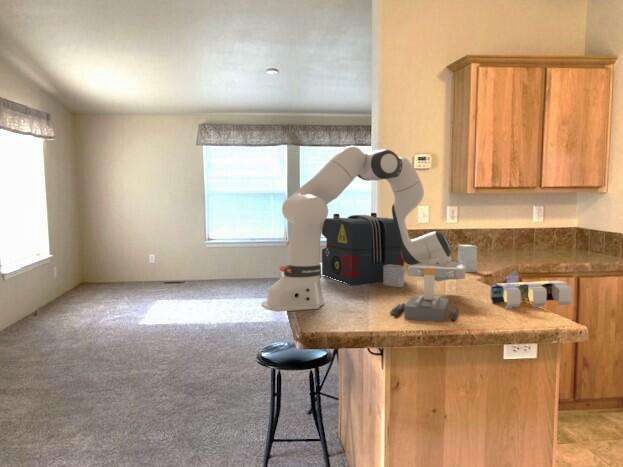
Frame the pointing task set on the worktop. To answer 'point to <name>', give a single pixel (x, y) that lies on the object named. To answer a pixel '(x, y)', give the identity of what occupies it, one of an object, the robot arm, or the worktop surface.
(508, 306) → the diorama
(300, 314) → the worktop surface
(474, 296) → the worktop surface
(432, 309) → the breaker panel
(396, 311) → the cords
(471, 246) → the small box
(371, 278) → the power unit
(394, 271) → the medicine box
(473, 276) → the worktop surface
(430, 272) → the lever
